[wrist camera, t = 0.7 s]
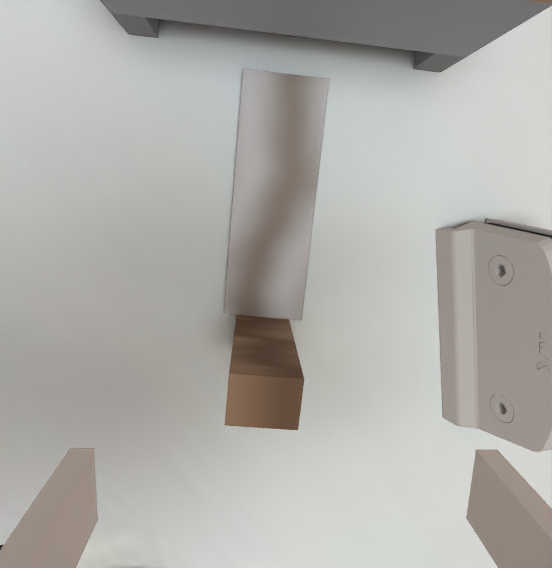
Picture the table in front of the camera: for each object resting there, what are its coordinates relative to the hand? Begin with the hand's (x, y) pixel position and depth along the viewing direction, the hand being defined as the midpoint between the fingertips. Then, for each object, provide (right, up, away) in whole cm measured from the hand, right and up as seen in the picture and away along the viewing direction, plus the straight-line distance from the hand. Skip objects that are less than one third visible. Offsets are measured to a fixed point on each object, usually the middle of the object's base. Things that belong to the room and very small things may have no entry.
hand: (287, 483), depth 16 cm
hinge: (+17, +4, +22) cm, 28 cm away
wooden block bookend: (-1, +12, +19) cm, 22 cm away
